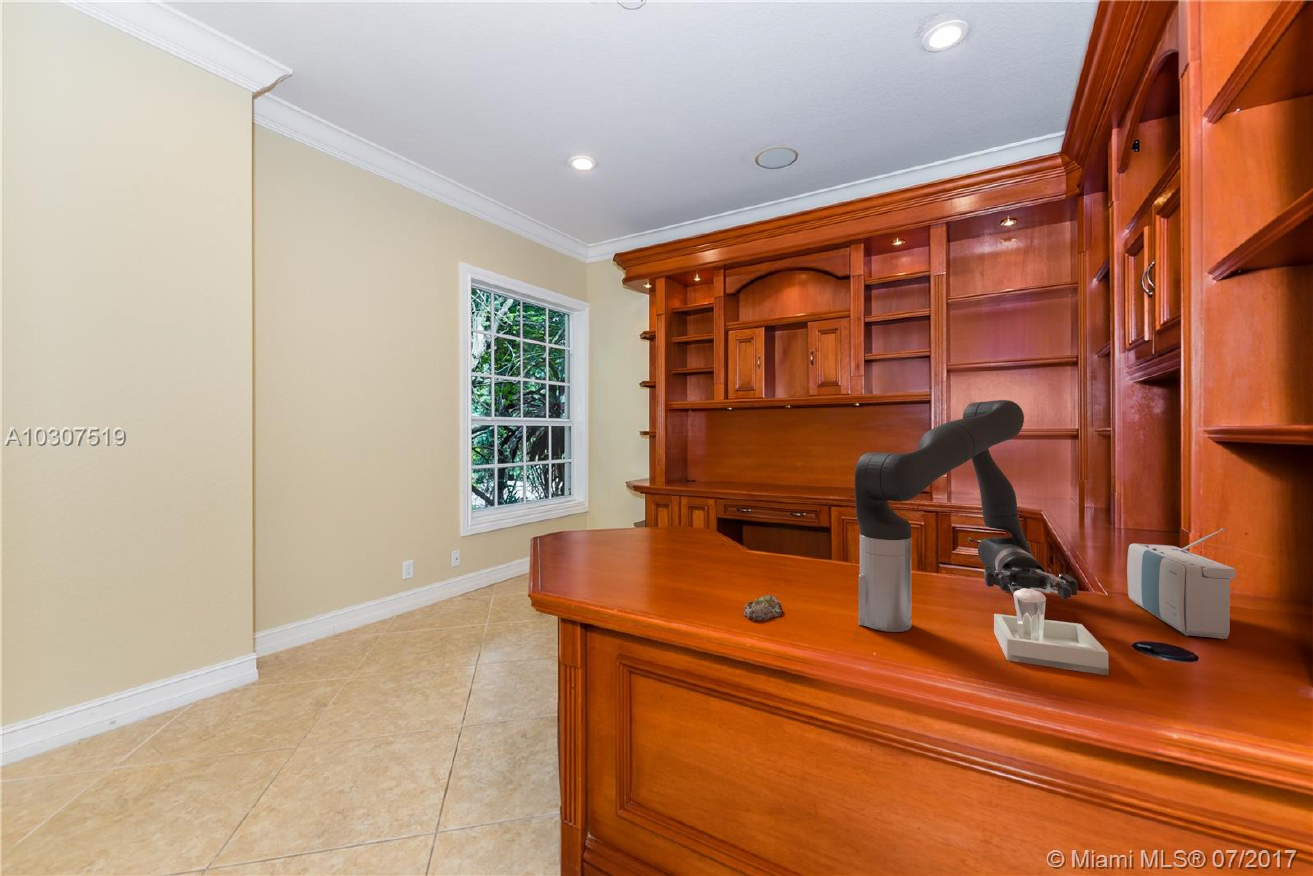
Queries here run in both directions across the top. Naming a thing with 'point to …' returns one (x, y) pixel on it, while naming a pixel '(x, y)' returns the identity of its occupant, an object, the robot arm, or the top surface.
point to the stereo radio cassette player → (1181, 588)
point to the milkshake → (1030, 613)
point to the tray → (1052, 646)
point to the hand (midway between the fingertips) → (1036, 591)
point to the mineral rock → (763, 608)
